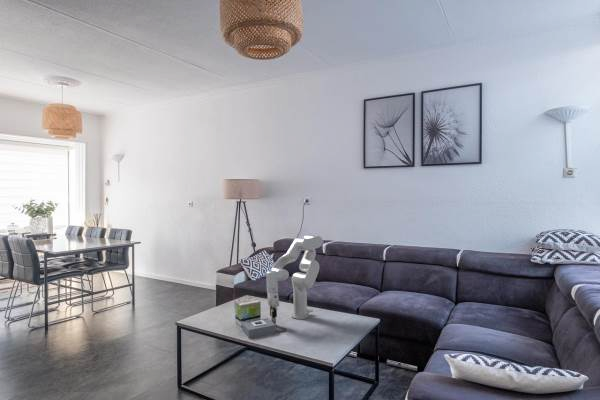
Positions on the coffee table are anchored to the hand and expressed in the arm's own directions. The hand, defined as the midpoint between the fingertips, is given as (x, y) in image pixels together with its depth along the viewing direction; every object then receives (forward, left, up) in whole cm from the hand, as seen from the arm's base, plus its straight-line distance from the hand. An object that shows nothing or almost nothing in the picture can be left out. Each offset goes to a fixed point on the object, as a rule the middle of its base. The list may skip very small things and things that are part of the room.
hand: (273, 316), depth 241 cm
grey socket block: (+12, +5, -6) cm, 15 cm away
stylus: (0, 0, -6) cm, 6 cm away
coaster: (-1, +10, -6) cm, 12 cm away
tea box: (+13, -14, -7) cm, 20 cm away
